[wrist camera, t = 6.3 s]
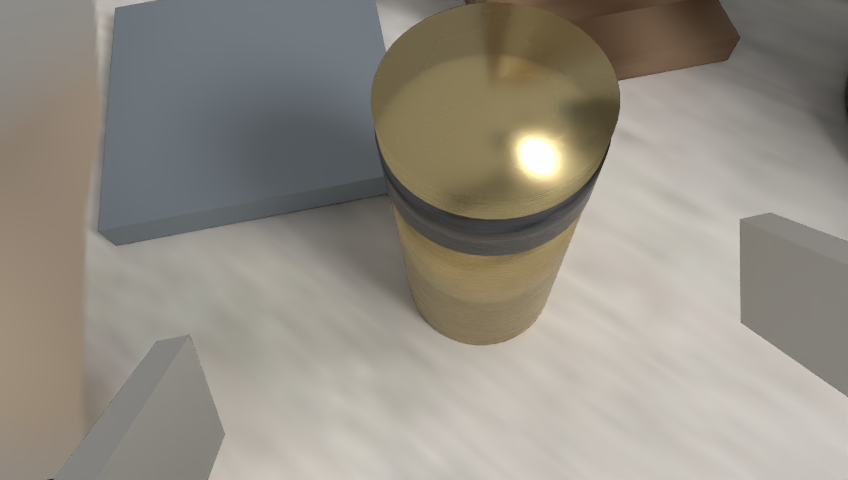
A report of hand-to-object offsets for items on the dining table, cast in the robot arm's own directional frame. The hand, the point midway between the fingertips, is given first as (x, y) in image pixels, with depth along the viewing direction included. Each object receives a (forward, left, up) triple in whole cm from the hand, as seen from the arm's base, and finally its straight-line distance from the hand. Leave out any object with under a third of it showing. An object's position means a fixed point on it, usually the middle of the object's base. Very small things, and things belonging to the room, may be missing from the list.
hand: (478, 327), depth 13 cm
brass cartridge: (-2, -5, -10) cm, 11 cm away
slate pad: (+7, -17, -10) cm, 21 cm away
